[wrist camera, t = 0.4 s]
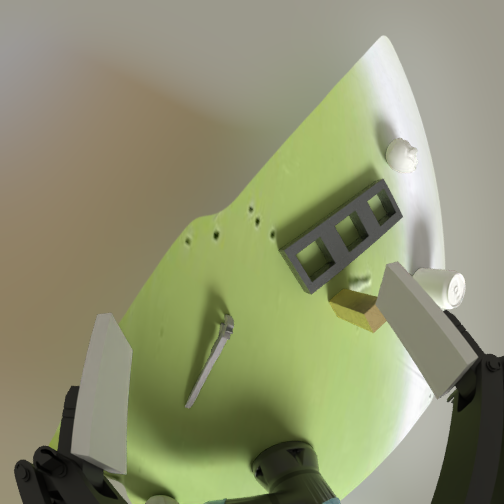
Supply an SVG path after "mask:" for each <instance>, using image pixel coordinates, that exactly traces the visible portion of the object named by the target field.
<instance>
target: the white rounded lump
mask: <svg viewBox="0 0 504 504" xmlns="http://www.w3.org/2000/svg"><path fill="white" fill-rule="evenodd" d="M417 152H418V151H417V149H416V148H414V147H412V146H411V145H410V144H409V142H408V141H406V140H403V139H402V138H398V139H395V140H393V142H391V143H390V145H389V146H388V148H387V152H386V159H387V162H388V164H389V166H390V167H391V168H392V169H393V170H395V171H397V172H399V173H403V174H406V173H412V172H413V171H415V170H416V165H417V163H418V161H417V158H416V154H417Z"/></svg>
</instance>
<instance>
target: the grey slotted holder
mask: <svg viewBox="0 0 504 504" xmlns="http://www.w3.org/2000/svg"><path fill="white" fill-rule="evenodd" d="M376 194H377V195H378V197H379V199H380V201H381V202H382V204H383V206H384V208H385V210H386V212H387V215H386V216H384V217H383V218H382V219H381V220H380V221H379V222H378V221H377V219H376V217H375V216H374V214H373V212H372V210H371V208H370V206H369V204H368V203H367V201H368V200H370V199H371V198H372V197H373V196H375V195H376ZM347 216H350V218H351V220H352V222H353V224H354V225H355V227H356V229H357V231H358V233H359V235H360V236H361V237H359V238H358V239H357V240H356V241H355V242H353V243H352V244H351V245H350V246H348V247H347V248H346V246H345V244H344V242H343V240H342V239H341V237H340V235H339V233H338V232H337V230H336V228H335V225H337V224H338V223H339V222H341V221H342V220H343V219H345V218H346V217H347ZM402 217H403V216H402V214H401V212H400V210H399V208H398V206H397V204H396V202H395V200H394V198H393V196H392V194H391V192H390V190H389V188H388V186H387V184H386V183H385V181H384V179H380V180H377V181H375V182H373V183H372V184H371V185H369V186H368V187H366V188H365V189H364V190H362V191H361V192H360V193H358V194H357V195H355V196H354V197H353V198H351V199H350V200H348V201H347V202H346V203H344V204H343V205H342V206H340V207H339V208H337V209H336V210H335V211H333V212H332V213H330V214H329V215H328V216H326V217H325V218H323V219H322V220H321V221H319V222H318V223H316V224H315V225H314V226H312V227H311V228H309V229H308V230H307V231H305V232H304V233H302V234H301V235H300V236H298V237H297V238H295V239H294V240H293V241H291V242H290V243H288V244H287V245H285V246H284V247H283V248H281V249H280V250H279V252H280V254H281V255H282V257H283V258H284V260H285V261H286V263H287V265H288V266H289V268H290V269H291V271H292V273H293V274H294V276H295V277H296V279H297V281H298V282H299V284H300V285H301V287H302V289H303V290H304V292H306V293H309V294H313V293H314V292H315V291H316V290H318V289H319V288H320V287H321V286H323V285H324V284H325V283H327V282H328V281H329V280H330V279H332V278H333V277H334V276H335V275H336V274H338V273H339V272H340V271H341V270H343V269H344V268H345V267H346V266H347V265H349V264H350V263H351V262H352V261H353V260H355V259H356V258H357V257H358V256H359V255H360V254H362V253H363V252H364V251H365V250H366V249H367V248H369V247H370V246H371V245H372V244H373V243H374V242H376V241H377V240H378V239H379V238H380V237H381V236H382V235H383V234H385V233H386V232H387V231H388V230H389V229H390V228H391V227H392V226H393V225H395V224H396V223H397V222H398V221H399V220H400V219H401V218H402ZM314 241H316V243H317V245H318V246H319V248H320V250H321V251H322V253H323V255H324V257H325V258H326V260H327V262H328V263H327V264H326V265H325V266H323V267H322V268H321V269H319V270H318V271H317V272H316V273H314V274H313V275H312V276H310V277H308V275H307V273H306V272H305V270H304V269H303V267H302V265H301V264H300V262H299V260H298V259H297V257H296V256H295V255H296V254H297V253H299V252H300V251H301V250H303V249H304V248H305V247H307V246H308V245H310V244H311V243H312V242H314Z"/></svg>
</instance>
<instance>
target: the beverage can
mask: <svg viewBox="0 0 504 504" xmlns="http://www.w3.org/2000/svg"><path fill="white" fill-rule="evenodd" d="M413 278H414V279H415V280H416V281H417V282H418V283H419V285H420V286H421V287H422V288H423V289H424V290H425V291H426V292H427V294H428V295H429V296H430V297H431V298H432V299H433V300H434V302H435V303H436V304H437V305H438V306H439V307H441V308H446V309H452V308H456V307H458V306H459V305H460V303H461V302H462V300H463V297H464V293H465V281H464V277H463V276H462V275H461V274H460V273H458V272H457V271H454V270H442V269H429V268H420V269H418V270H417V271H416V272H415V273H414V275H413Z"/></svg>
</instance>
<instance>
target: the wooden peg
mask: <svg viewBox="0 0 504 504" xmlns="http://www.w3.org/2000/svg"><path fill="white" fill-rule="evenodd" d="M376 300H377V297H376V296H372V295H368V294H364V293H360V292H356V291H352V290H348V289H343V290H341V291H340V292H339V293H338V294H337V295H335V296H334V297H333V298H332V299H330V300H329V303H330V305H331V307H332V308H333V310H334V312H335V313H336V315H337V317H339V318H341V319H343V320H345V321H348V322H350V323H352V324H354V325H357V326H359V327H361V328H363V329H366V330H368V331H370V332H372V333H374V332H375V331H376V330H377V329H378V328H379V327H381V326H382V325H383V324H384V323H385V322H386V321H387V320H386V319H385V317H384V316H383V314H382V313H381V312H380V310H379V309H378V307H377V306H376V305H375V304H376Z"/></svg>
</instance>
